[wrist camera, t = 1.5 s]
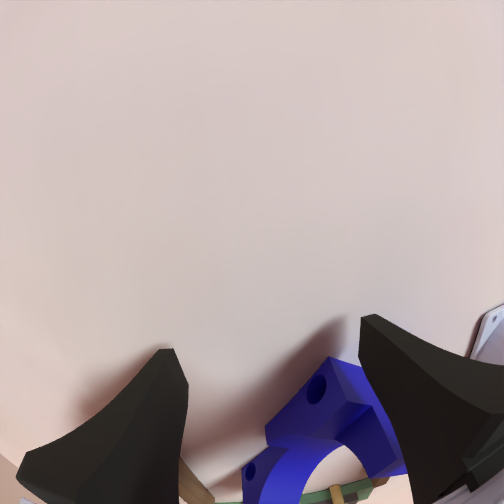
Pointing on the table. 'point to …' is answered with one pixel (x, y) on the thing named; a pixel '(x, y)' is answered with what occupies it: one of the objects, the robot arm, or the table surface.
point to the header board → (337, 494)
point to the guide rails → (203, 500)
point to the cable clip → (322, 435)
